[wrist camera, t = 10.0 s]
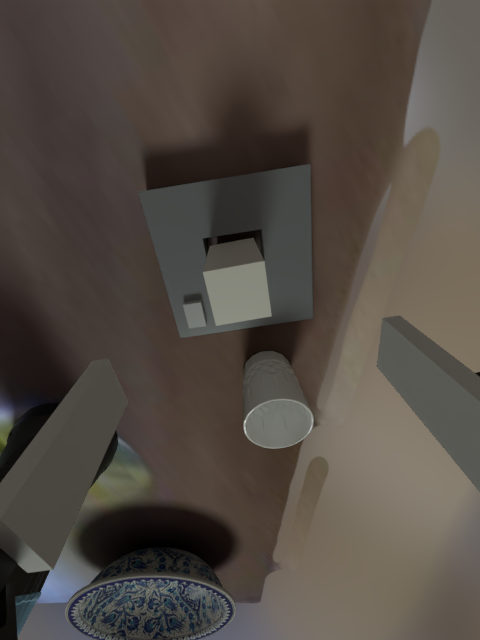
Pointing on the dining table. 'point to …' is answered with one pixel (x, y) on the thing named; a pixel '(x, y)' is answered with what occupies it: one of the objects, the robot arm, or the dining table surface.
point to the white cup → (274, 402)
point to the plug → (236, 282)
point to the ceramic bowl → (152, 599)
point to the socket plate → (229, 218)
